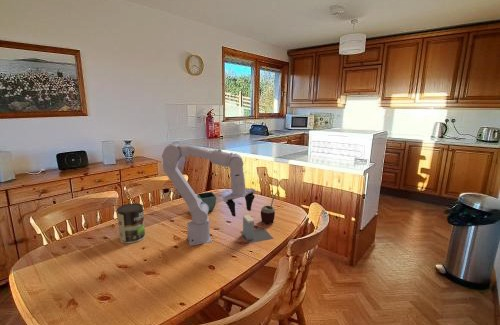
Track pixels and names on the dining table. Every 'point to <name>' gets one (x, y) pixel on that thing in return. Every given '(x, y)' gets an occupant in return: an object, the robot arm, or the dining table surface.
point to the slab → (248, 227)
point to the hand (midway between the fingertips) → (241, 213)
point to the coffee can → (131, 223)
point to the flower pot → (208, 199)
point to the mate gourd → (268, 213)
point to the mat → (259, 235)
